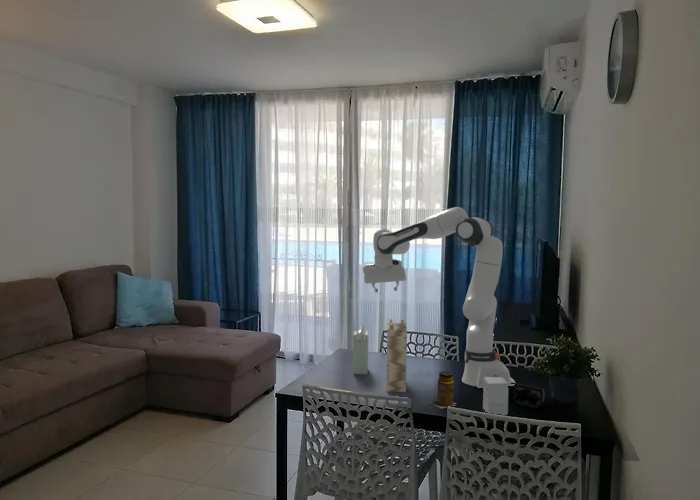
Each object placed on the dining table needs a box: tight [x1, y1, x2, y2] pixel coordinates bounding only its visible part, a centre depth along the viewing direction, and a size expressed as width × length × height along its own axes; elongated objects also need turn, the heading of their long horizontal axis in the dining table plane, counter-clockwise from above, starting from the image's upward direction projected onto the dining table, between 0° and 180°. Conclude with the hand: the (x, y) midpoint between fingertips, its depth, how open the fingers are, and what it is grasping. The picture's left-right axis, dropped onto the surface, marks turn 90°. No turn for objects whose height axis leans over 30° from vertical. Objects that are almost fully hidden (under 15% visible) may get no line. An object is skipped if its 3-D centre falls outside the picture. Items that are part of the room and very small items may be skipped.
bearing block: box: [385, 319, 408, 393], centre depth 221 cm, size 8×12×28 cm, turn 176°
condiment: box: [428, 371, 457, 409], centre depth 202 cm, size 7×8×12 cm
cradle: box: [352, 330, 369, 375], centre depth 242 cm, size 6×8×18 cm
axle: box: [356, 324, 366, 341], centre depth 242 cm, size 20×3×3 cm, turn 176°
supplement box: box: [482, 377, 509, 415], centre depth 193 cm, size 7×7×13 cm
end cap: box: [513, 383, 546, 406], centre depth 203 cm, size 10×7×7 cm
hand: (386, 291), depth 253 cm, fingers open, 8 cm apart
